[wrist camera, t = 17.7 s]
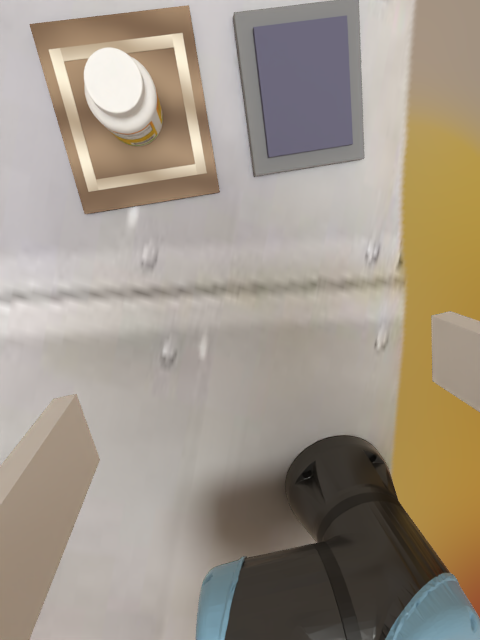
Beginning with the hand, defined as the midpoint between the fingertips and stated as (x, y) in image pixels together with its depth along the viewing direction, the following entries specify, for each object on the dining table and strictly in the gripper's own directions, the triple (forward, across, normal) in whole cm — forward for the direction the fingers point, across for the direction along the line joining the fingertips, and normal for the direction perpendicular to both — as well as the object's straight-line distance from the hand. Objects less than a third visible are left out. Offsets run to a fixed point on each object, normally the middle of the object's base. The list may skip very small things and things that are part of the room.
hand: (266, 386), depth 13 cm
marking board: (+28, +5, -17) cm, 33 cm away
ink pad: (+28, -12, -16) cm, 35 cm away
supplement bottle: (+27, +5, -17) cm, 32 cm away
